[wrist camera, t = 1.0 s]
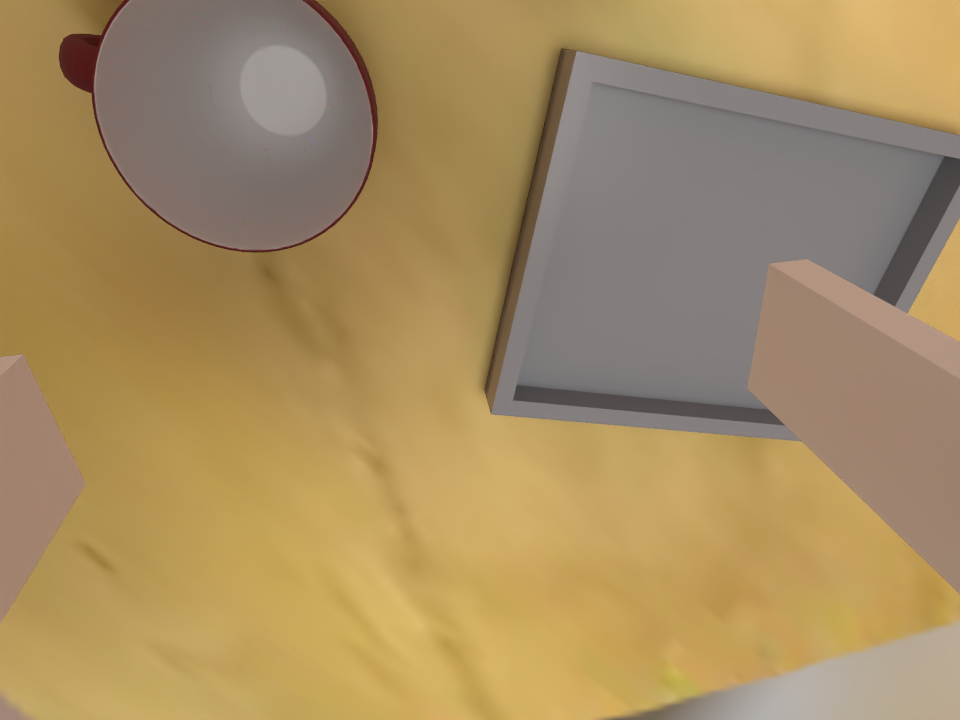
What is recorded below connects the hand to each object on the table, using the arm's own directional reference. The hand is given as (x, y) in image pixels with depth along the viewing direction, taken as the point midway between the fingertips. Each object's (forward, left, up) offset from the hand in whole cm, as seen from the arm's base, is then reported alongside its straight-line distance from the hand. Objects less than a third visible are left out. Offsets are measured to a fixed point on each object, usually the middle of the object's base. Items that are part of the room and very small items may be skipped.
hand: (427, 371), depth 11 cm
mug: (-7, +2, -21) cm, 22 cm away
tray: (+17, -3, -20) cm, 27 cm away
